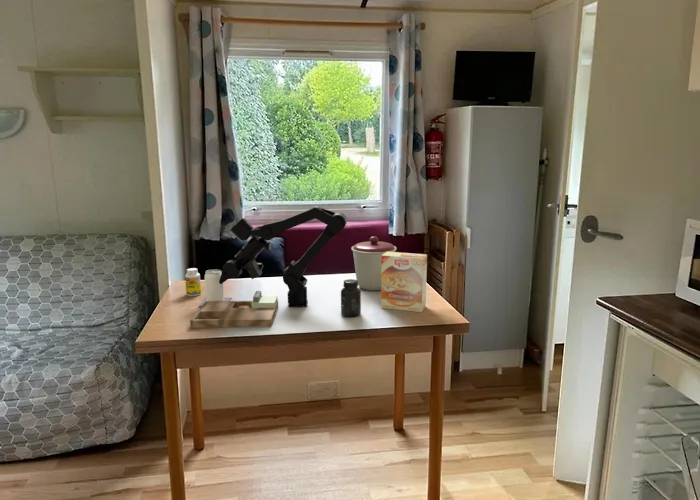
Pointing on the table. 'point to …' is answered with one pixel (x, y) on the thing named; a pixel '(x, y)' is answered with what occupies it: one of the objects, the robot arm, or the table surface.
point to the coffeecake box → (403, 281)
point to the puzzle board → (232, 315)
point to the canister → (370, 262)
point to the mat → (205, 301)
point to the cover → (263, 301)
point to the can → (213, 285)
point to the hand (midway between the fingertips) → (223, 279)
